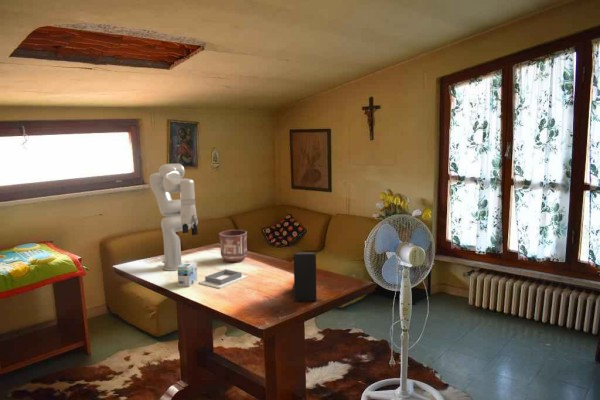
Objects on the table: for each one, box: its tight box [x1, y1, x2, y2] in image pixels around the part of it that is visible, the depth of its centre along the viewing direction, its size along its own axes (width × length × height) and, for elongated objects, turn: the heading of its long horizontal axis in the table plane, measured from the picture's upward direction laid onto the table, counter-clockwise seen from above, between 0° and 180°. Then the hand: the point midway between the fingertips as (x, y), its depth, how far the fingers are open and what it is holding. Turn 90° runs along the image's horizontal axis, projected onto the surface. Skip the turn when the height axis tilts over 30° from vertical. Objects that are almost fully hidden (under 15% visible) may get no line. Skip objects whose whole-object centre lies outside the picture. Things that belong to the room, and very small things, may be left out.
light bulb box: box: [177, 261, 199, 288], centre depth 244 cm, size 11×7×11 cm, turn 168°
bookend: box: [292, 251, 317, 302], centre depth 225 cm, size 23×11×24 cm, turn 2°
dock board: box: [198, 269, 249, 289], centre depth 248 cm, size 16×22×3 cm
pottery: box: [218, 229, 248, 264], centre depth 287 cm, size 18×18×18 cm
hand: (190, 233), depth 244 cm, fingers open, 9 cm apart
